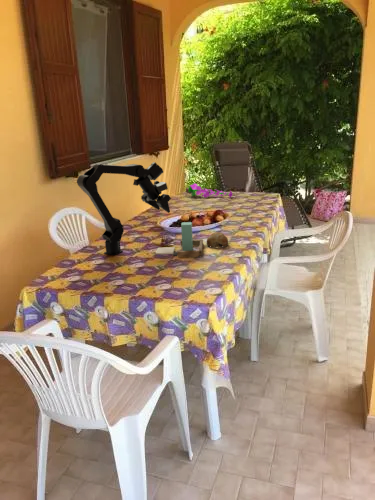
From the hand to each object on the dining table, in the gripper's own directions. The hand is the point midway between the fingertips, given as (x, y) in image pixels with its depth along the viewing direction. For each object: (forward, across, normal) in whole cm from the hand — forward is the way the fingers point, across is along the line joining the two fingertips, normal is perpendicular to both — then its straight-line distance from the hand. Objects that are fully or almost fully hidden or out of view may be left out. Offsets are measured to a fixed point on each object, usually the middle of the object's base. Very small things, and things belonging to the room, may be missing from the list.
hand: (164, 210), depth 213 cm
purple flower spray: (+56, +67, -60) cm, 106 cm away
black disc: (+8, -23, +15) cm, 29 cm away
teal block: (+11, -22, +10) cm, 27 cm away
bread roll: (+20, -25, -3) cm, 32 cm away
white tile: (+7, -16, +17) cm, 24 cm away
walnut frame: (+12, -23, +9) cm, 28 cm away
